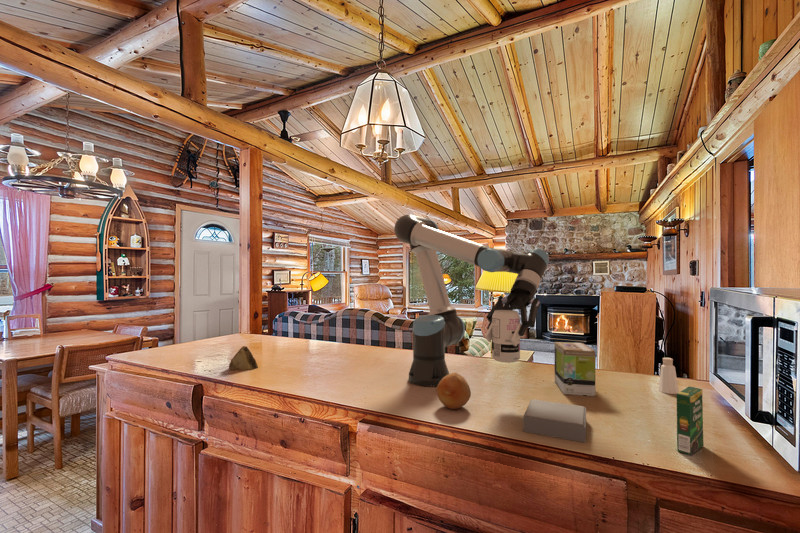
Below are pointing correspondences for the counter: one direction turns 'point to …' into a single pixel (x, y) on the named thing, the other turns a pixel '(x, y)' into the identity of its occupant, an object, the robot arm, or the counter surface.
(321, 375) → the counter surface
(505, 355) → the supplement can
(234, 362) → the rock
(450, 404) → the onion
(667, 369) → the pepper shaker
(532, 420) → the base block
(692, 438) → the coffee box
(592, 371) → the tea box
